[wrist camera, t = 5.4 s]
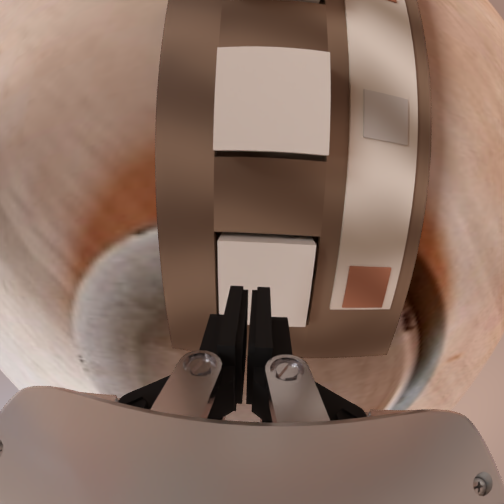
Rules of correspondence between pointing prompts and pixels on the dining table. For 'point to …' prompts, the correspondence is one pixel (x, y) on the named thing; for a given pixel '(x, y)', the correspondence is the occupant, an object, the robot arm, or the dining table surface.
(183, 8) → the button board
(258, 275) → the button
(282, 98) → the button
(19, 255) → the dining table surface
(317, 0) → the button
